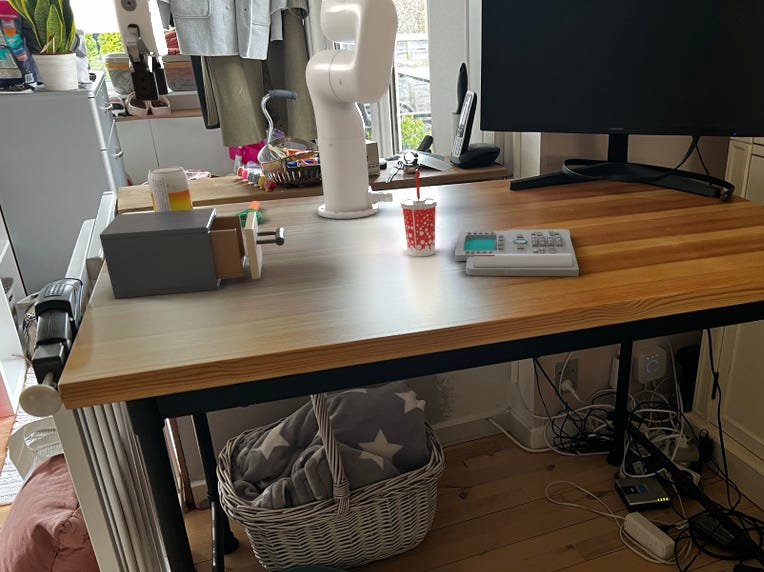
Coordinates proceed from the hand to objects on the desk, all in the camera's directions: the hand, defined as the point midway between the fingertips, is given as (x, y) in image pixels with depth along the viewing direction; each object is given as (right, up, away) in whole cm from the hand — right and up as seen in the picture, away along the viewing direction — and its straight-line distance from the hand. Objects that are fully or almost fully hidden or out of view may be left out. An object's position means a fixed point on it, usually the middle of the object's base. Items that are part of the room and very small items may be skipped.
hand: (153, 97), depth 115 cm
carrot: (+4, -12, +37) cm, 39 cm away
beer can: (0, -24, +11) cm, 26 cm away
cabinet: (+3, -29, -1) cm, 29 cm away
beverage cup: (+41, -23, +11) cm, 49 cm away
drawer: (+12, -27, +1) cm, 30 cm away
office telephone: (+57, -24, +9) cm, 63 cm away
